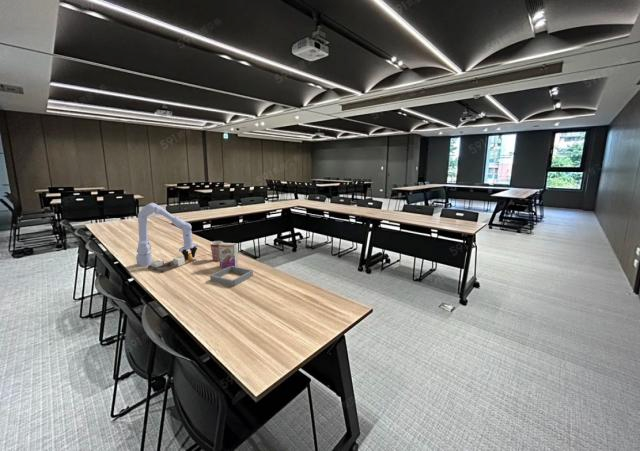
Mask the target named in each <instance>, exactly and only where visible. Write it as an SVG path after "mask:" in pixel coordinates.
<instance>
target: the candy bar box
mask: <svg viewBox="0 0 640 451" xmlns="http://www.w3.org/2000/svg"><path fill="white" fill-rule="evenodd" d="M237 244H238V243H237V242H236V243H235V242H233V243H232V242H223V243H220V244H219V245H218V247H219V260H220V261H219V267H220V268H227V267H229V266H235V267H239V266H238V265H239V261H238V247H237V246H238V245H237Z"/></svg>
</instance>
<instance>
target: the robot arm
mask: <svg viewBox="0 0 640 451" xmlns="http://www.w3.org/2000/svg"><path fill="white" fill-rule="evenodd" d="M151 214H155V215H162V216H163V217H165V218H166V219H168V220H170V221H171V224H173V225H174V226H175V227H177V228H179V229H180V230H181V231H182V238H183V246H182V247H181V248H180V247H179V248H178V252H180V253H181V254H182V255H183V256H182V257H184V258H185V260H188V253H189V250H190V253H192V259H195V256H196V252H197V250H198V247H199V244H198V243H194V242H193V233H192V225H191V223H189V222H187V221H185V220H183V219H182V217H181V216H174V215H173V214H172V213H170V212H168V211H167V210H166V209H164V208H163V207H162V206H161V205H158V204H157V203H155V202H150V203H147V204H146V205H144V206H142V207H141V210H140V211H139V212H138V213H137V223H138V224H137V225H138V238H139V239H138V243H137V244H138V246H137V248H136V253H137V254H136V256H135V258H136V259H135V260H136V265H137V266H140V267H148V266H149V265H151V263H152V262H153V258H152V252H151V249H152V246H151V242H150V240H149V230H148V229H149V228H148V217H149V216H150V215H151Z"/></svg>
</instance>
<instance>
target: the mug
mask: <svg viewBox="0 0 640 451" xmlns="http://www.w3.org/2000/svg"><path fill="white" fill-rule="evenodd" d="M220 243H224V241H222V240H214V241H211V242H210V243H209V245H210V250H211V256H212V261H213V262H216V263H218V262H219V263H220V260H219V247H218V245H219V244H220Z"/></svg>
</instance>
